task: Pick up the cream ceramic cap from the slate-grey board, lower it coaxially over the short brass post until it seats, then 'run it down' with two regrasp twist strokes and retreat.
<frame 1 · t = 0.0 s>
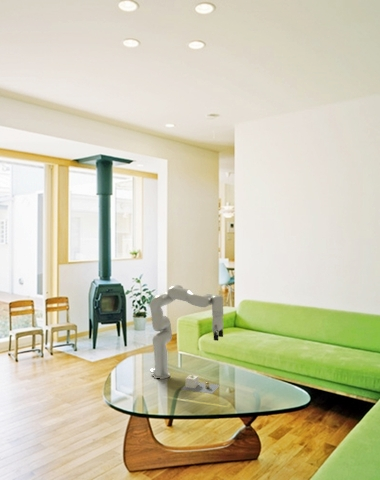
hand: (218, 338, 270), 31 cm above the table, fingers open, 9 cm apart
post: (207, 388, 261), resting on board
board: (200, 388, 263), on the table
cap: (192, 385, 265), point 1 cm above the table, touching board
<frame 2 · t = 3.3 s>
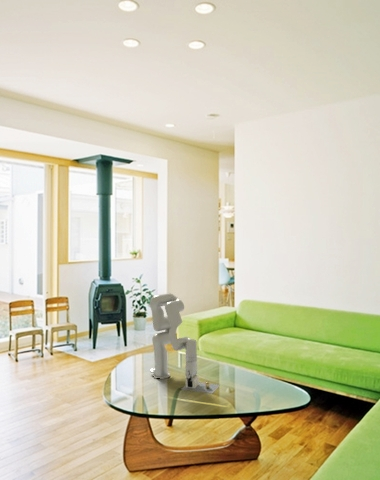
hand: (192, 384, 265), 2 cm above the table, fingers closed on cap, 6 cm apart
cap: (192, 385, 265), point 1 cm above the table, touching board, gripper
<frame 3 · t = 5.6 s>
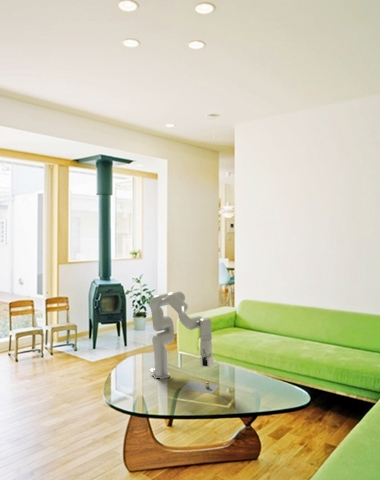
hand: (207, 364, 260), 17 cm above the table, fingers closed on cap, 6 cm apart
cap: (207, 365, 260), point 16 cm above the table, touching gripper
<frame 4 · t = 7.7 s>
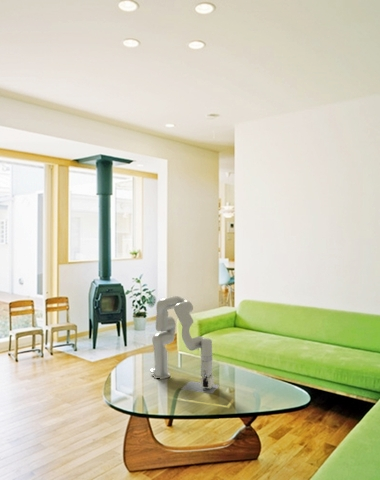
hand: (207, 384, 261), 3 cm above the table, fingers closed on cap, 6 cm apart
cap: (207, 386, 261), point 3 cm above the table, touching gripper
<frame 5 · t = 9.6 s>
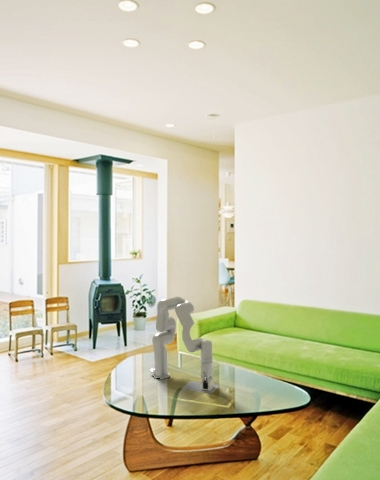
hand: (207, 386, 261), 2 cm above the table, fingers closed on cap, 6 cm apart
cap: (207, 388, 261), point 1 cm above the table, touching board, gripper
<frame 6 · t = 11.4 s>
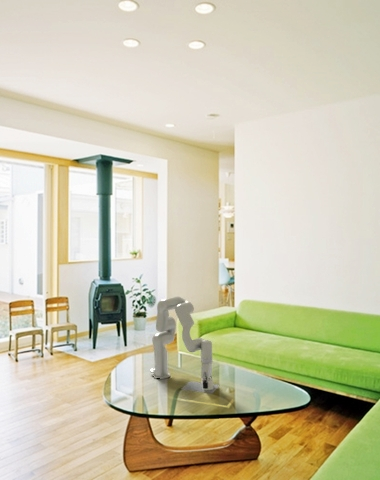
hand: (207, 385, 261), 3 cm above the table
cap: (207, 388, 261), point 1 cm above the table, touching gripper
when the fingers open (2 cm above the table, at t = 13.3 s): cap stays where it is, resting on board.
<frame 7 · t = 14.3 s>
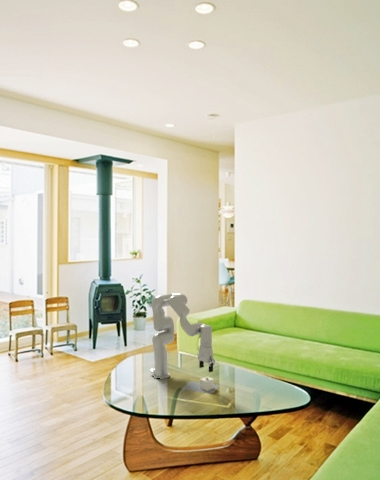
hand: (206, 369, 261), 13 cm above the table, fingers open, 9 cm apart
cap: (207, 388, 260), point 1 cm above the table, touching board
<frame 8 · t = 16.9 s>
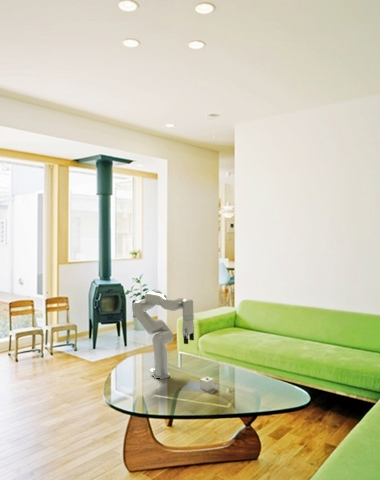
hand: (188, 341, 274), 28 cm above the table, fingers open, 9 cm apart
nothing on the table moved.
at the end: cap 0.4 cm off-centre on the post, point 0.0 cm above the post's base; cap tilted 0°; the gripper is holding nothing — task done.
